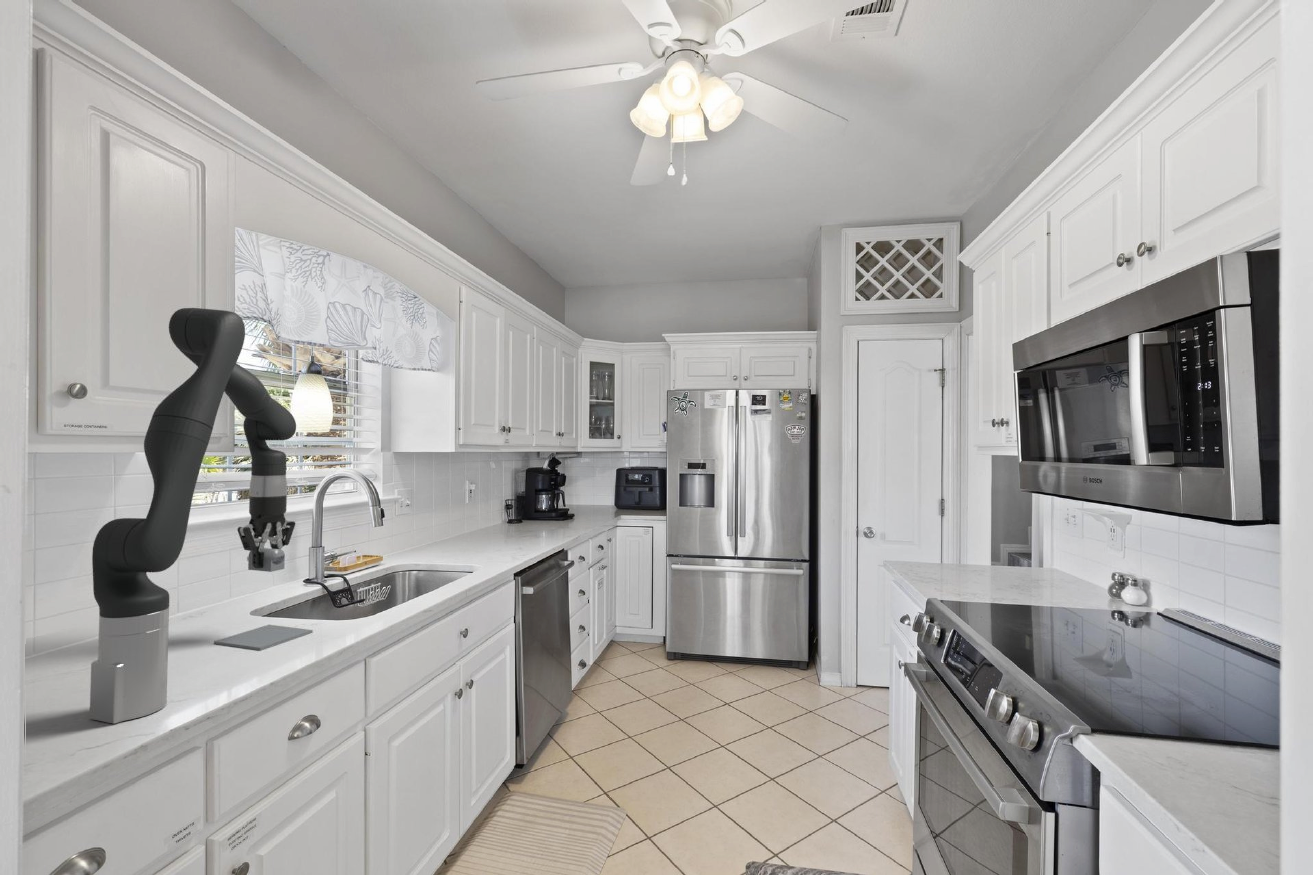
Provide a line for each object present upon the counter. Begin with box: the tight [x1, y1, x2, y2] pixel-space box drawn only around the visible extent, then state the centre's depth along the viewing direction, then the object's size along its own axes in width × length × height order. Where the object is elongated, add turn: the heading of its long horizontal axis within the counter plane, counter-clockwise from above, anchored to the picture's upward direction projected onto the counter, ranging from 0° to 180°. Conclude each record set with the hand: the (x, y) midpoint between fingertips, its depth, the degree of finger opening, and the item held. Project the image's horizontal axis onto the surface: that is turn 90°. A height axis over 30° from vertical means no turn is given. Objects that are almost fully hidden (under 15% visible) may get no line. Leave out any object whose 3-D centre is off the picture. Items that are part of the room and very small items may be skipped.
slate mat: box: [213, 624, 314, 651], centre depth 144 cm, size 14×14×1 cm
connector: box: [246, 547, 285, 573], centre depth 144 cm, size 4×8×5 cm, turn 73°
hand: (266, 565), depth 144 cm, fingers closed on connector, 3 cm apart
